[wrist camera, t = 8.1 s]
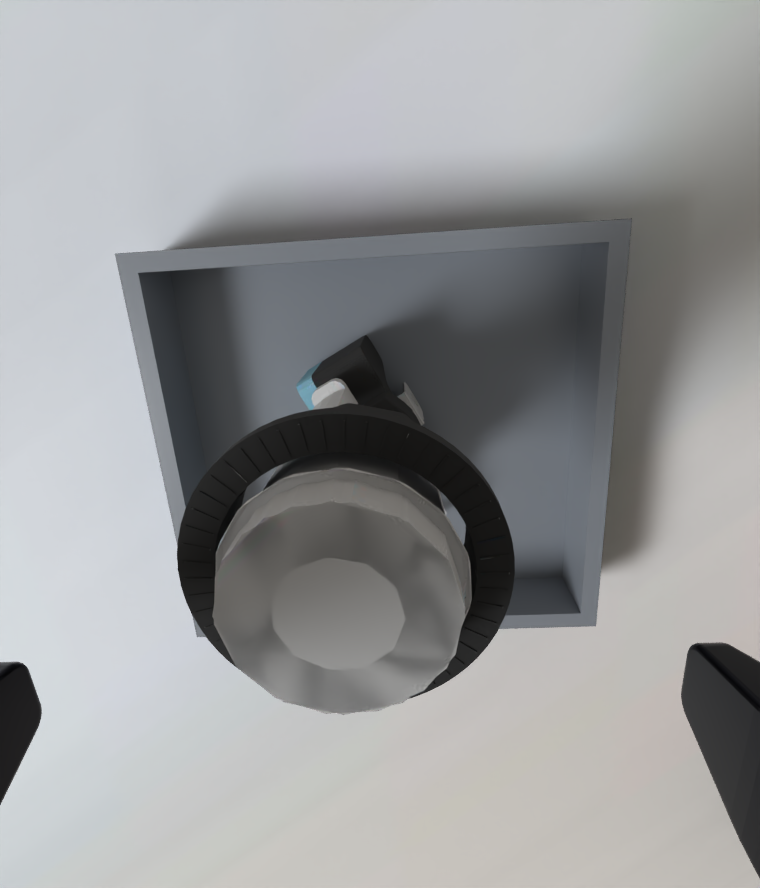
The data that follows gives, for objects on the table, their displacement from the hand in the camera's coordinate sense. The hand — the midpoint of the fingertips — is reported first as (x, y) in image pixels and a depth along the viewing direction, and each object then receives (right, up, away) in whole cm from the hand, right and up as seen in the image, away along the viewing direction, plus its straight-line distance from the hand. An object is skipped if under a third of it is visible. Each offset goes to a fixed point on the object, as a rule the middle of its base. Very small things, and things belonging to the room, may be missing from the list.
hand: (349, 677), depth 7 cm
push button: (+1, +4, +10) cm, 11 cm away
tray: (+1, +4, +10) cm, 11 cm away
